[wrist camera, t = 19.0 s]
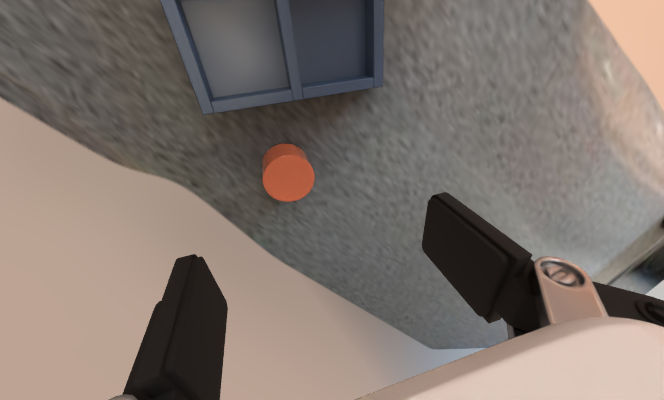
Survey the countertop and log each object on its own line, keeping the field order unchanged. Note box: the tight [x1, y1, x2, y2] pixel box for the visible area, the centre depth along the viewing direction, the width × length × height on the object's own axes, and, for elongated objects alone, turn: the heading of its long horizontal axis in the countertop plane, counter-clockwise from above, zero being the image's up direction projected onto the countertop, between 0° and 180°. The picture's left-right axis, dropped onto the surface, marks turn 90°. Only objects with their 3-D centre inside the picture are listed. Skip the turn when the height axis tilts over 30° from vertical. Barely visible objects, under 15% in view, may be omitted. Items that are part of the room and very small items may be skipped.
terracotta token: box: [262, 144, 315, 202], centre depth 22 cm, size 4×4×3 cm
